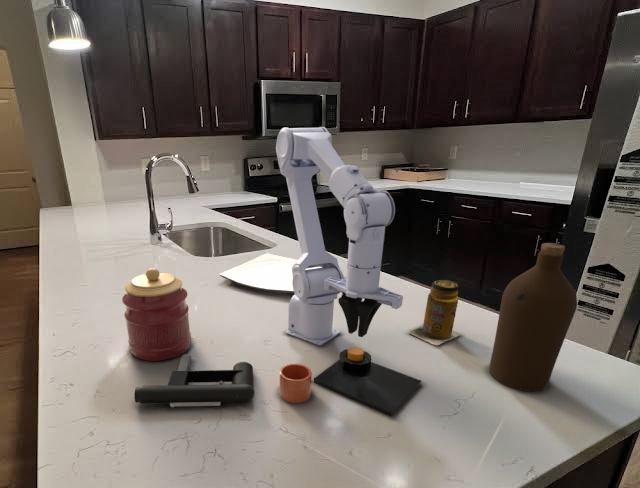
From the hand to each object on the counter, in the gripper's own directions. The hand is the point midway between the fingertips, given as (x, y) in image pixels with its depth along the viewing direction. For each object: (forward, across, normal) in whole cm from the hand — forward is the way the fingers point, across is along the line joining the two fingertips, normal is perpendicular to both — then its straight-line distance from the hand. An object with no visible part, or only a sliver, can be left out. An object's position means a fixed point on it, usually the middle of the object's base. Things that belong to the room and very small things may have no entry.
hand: (357, 333), depth 78 cm
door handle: (+8, -18, -24) cm, 31 cm away
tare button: (+5, 0, 0) cm, 5 cm away
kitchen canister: (+8, -36, -20) cm, 41 cm away
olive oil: (+8, +24, +16) cm, 31 cm away
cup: (+7, -4, -14) cm, 17 cm away
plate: (+8, -44, +30) cm, 54 cm away
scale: (+7, +4, -4) cm, 9 cm away
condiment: (+8, +6, +24) cm, 26 cm away
